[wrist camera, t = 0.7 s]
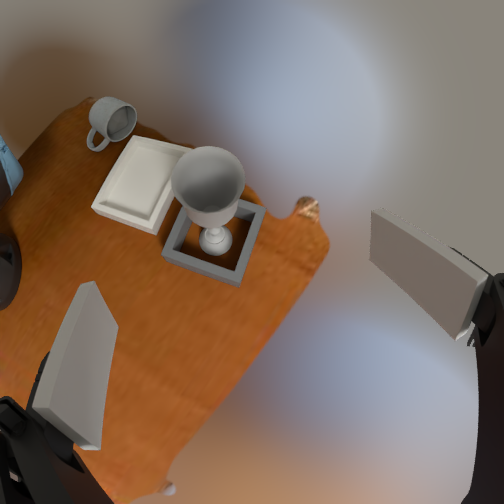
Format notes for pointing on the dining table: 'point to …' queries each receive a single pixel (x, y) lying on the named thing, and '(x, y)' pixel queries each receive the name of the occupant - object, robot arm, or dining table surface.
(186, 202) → the chalice
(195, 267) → the charcoal collar
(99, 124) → the ceramic mug
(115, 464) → the dining table surface
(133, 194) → the off-white tray
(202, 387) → the dining table surface
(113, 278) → the dining table surface
